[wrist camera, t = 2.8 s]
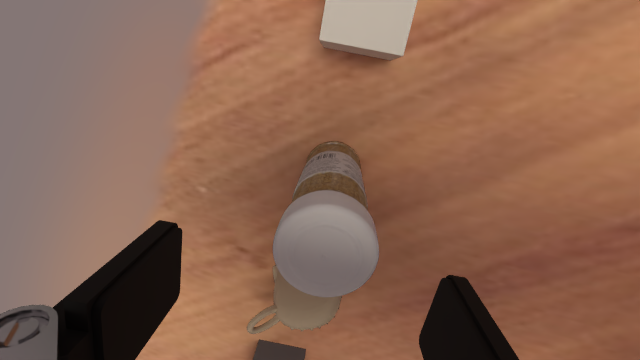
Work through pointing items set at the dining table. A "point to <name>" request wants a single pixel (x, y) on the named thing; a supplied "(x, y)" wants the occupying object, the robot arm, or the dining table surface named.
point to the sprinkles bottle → (327, 226)
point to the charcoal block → (278, 351)
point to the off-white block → (367, 26)
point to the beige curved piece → (295, 308)
